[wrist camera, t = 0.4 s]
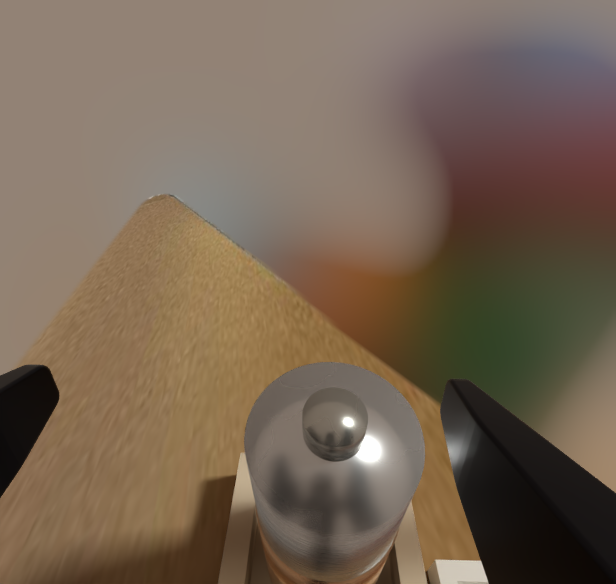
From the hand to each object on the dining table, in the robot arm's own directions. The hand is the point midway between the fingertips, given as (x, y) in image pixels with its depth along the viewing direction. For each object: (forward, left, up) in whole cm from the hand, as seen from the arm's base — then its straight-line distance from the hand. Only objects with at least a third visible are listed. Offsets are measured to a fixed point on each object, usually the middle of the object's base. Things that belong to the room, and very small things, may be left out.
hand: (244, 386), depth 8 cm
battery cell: (+1, -2, -15) cm, 16 cm away
